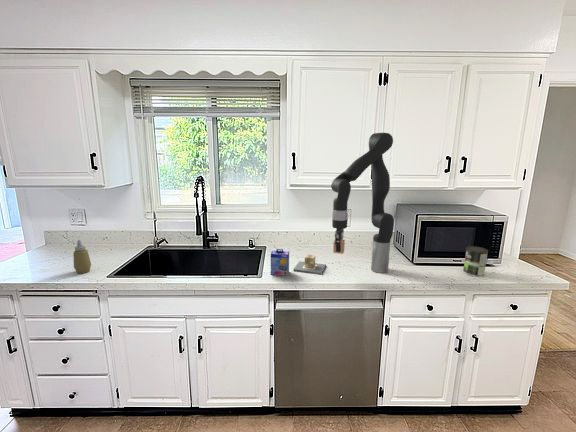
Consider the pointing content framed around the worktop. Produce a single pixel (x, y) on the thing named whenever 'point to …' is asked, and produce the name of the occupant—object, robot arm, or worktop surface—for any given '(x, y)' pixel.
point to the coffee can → (475, 261)
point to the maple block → (310, 261)
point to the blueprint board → (316, 270)
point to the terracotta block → (341, 247)
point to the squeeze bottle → (81, 259)
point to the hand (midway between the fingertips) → (338, 249)
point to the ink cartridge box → (279, 262)
